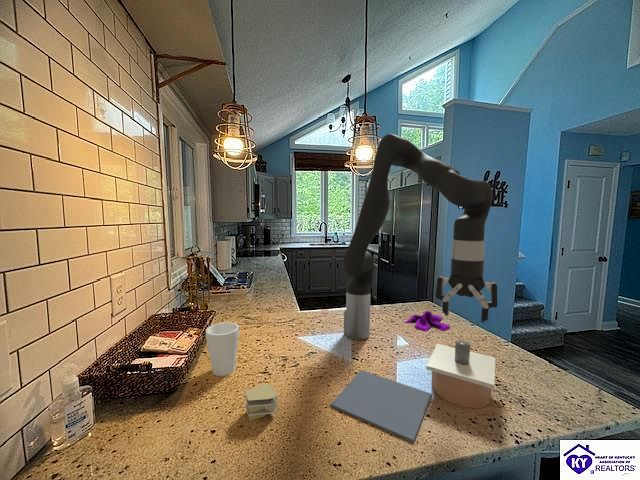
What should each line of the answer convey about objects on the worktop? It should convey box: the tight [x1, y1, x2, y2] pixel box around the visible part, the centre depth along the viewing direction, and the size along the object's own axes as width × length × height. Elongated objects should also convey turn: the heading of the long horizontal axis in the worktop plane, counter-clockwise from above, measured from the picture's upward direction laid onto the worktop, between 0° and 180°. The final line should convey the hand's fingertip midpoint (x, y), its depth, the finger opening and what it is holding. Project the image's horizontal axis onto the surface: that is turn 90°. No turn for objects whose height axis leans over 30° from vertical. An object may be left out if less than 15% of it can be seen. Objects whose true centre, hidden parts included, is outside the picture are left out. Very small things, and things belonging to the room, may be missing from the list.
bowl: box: [431, 371, 492, 409], centre depth 75 cm, size 14×14×7 cm
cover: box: [425, 340, 496, 390], centre depth 74 cm, size 15×15×6 cm
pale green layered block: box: [244, 383, 279, 421], centre depth 66 cm, size 10×9×6 cm
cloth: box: [405, 310, 451, 332], centre depth 122 cm, size 22×19×6 cm
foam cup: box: [205, 322, 240, 377], centre depth 83 cm, size 10×9×13 cm
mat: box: [329, 369, 432, 443], centre depth 71 cm, size 20×18×1 cm
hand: (464, 318), depth 74 cm, fingers open, 8 cm apart
